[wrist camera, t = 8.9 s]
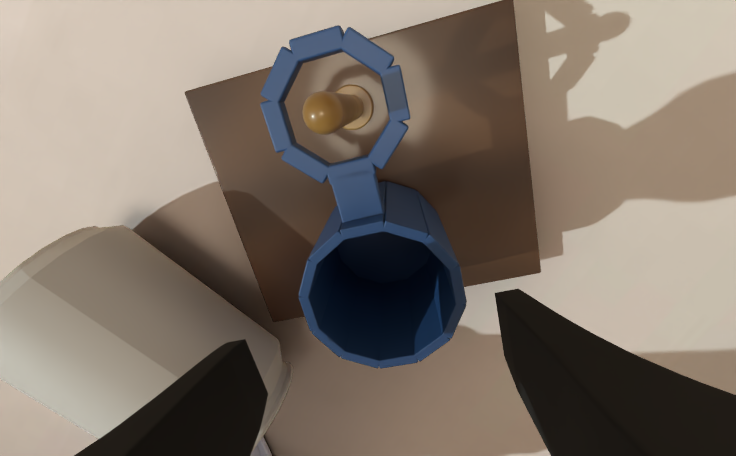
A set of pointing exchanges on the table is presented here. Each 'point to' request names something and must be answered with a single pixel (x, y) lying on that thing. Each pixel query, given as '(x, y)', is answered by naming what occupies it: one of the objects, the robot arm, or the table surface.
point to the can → (117, 329)
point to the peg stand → (406, 165)
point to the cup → (368, 228)
